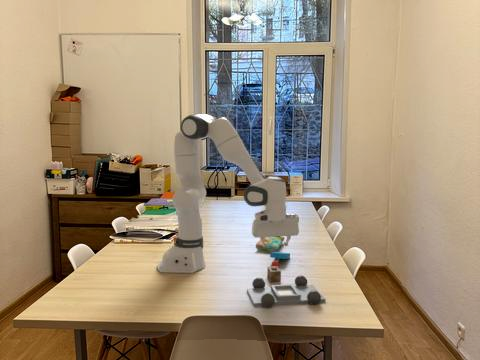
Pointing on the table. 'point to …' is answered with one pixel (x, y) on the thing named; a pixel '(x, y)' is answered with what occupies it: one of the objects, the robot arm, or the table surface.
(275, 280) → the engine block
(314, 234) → the table surface
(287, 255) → the lever
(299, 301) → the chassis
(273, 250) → the puzzle game
